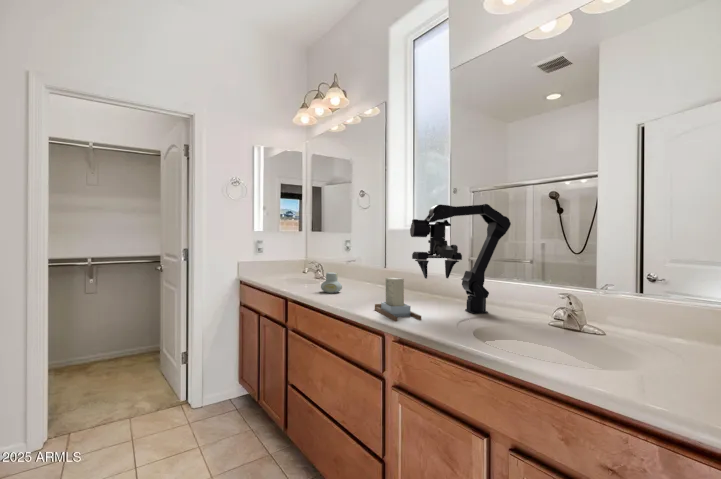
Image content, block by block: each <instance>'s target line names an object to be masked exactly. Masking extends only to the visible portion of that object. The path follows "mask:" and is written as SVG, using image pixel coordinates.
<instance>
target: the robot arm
mask: <svg viewBox="0 0 721 479" xmlns="http://www.w3.org/2000/svg"><path fill="white" fill-rule="evenodd" d="M475 215H476V216H477V215H479V216H481V218H482V219H483V221H484V222H485V223H486V224H487V228H486V234H487V235H486V237H485V240H484V243H483V244H482V246H481V248H480V252H479V254H478V256H477V258H476V260H475V262H474V264H473V267H472V268H471V269H470V270H465V271H464V275H463V276H462V277H461V281H462V282H461V286H462V288H463V290H465V293H466V295H467V299H466V308H465V309H464V311H466V312H468V313H471V314H475V315H476V314H489V311H488V310H487V299H488V296H489V295H490V292H489V290H487V289H486V288H485V287H484V285H485V281H486V280H485V273H486V270H487V269H488V266H489V264H490V262H491V259H492V257H493V255H494V252H495V250H496V248H497V246H498V244H499V242H500V240H501V239H502V237H504V236H505V235H506V234H507V232H508V230H509V229H510V228H511V225H512V224H511V220H510V218H509V217H507V216H504V215H503V214H502V213H501V212H499V211H498V210H496V209H494V208H493V207H492V206H491V205H490V204H488V203H484V204H475V205H474V204H473V205H460V206H459V205H458V206H455V205H449V204H436V205H434V206H431V208H430V209H429V211H428V214H427V216H426V217H425V219H416V218H415V219H414V218H413V219H412V220H411V224H410V228H409V234H410V236H411V238H427V237H428V236H429V239H428V241H427V242H428V243H429V250H427V251H413V252H412V254H411V259H413V260H414V262H417V264H418V265H419V267H420V270H421V272H422V274H423V277H424V279H428V264H429V262H430V261H429V260H428V259H444V267H445V268H444V269H445V270H444V272H445V278H446V279H449V277H450V275H451V273H452V270H453V268H454V266H455V264H457V263H459V262H460V261H462V260H463V255H462V253H461V252H458V251H459V250H458V249H459V248H458V245H457V244H450V245H448V240H446V227H451V226H452V223H450V222H449V221H448V219H449V218H453V217H463V216H475ZM441 220H443V221H441Z"/></svg>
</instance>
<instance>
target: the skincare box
mask: <svg viewBox="0 0 721 479" xmlns="http://www.w3.org/2000/svg"><path fill="white" fill-rule="evenodd" d="M404 288H405V279H404V278H400V277H385V302H386V304H388V305H390V306H404V303H405V295H404V294H405V289H404Z"/></svg>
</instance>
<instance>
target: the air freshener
mask: <svg viewBox="0 0 721 479" xmlns="http://www.w3.org/2000/svg"><path fill="white" fill-rule="evenodd" d="M320 289H321V291H323V292H324V293H327V294H336V293H339V292H341V290H342V289H343V284H342V283H341V282H340V281H339V280H338V273H337V272H326V273H325V281H323V282H322V283H321V284H320Z"/></svg>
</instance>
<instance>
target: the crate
mask: <svg viewBox="0 0 721 479" xmlns="http://www.w3.org/2000/svg"><path fill="white" fill-rule="evenodd" d="M380 304H381V309H383V310H385V311H387V312H388V313H390V314H392V315H394V316H396V317H397V318H398V317H411V316H410V311H411V305H409V304H408V303H406V302H404V306H390V305H388V304H386V301H381V302H380Z"/></svg>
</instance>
